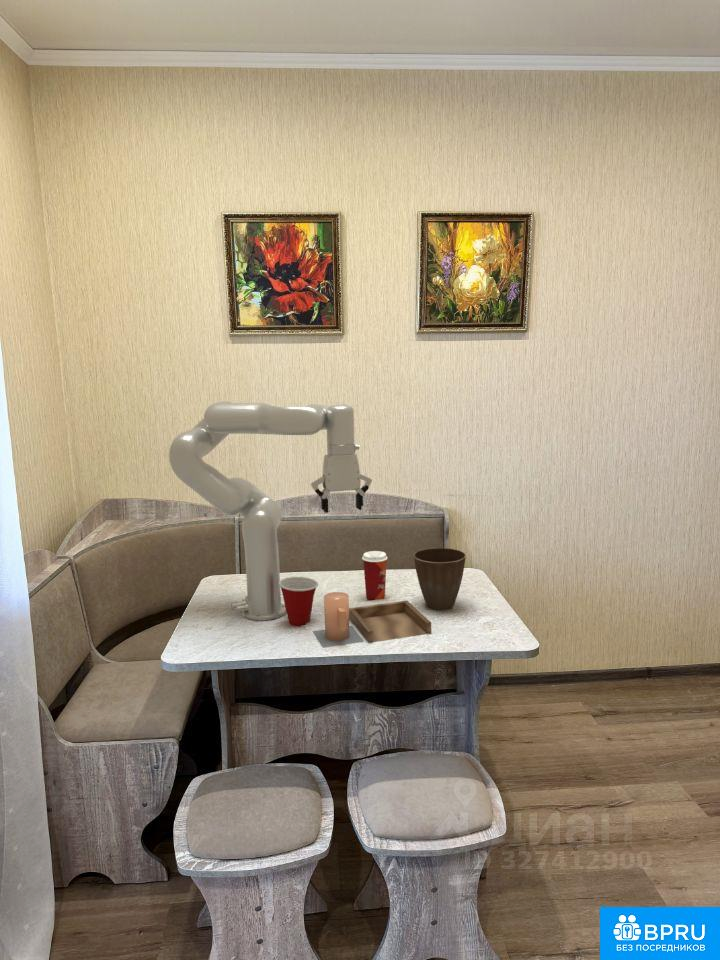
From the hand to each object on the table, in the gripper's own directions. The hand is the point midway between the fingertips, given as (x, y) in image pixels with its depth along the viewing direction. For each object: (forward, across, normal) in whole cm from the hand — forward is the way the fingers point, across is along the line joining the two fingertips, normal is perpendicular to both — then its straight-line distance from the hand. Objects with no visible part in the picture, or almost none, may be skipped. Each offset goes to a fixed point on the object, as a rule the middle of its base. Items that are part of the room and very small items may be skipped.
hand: (342, 510), depth 191 cm
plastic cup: (+31, +14, +3) cm, 34 cm away
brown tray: (+30, -8, +15) cm, 35 cm away
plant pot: (+31, -27, +6) cm, 41 cm away
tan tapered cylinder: (+30, +7, +18) cm, 36 cm away
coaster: (+30, +7, +17) cm, 35 cm away
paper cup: (+31, -12, -8) cm, 34 cm away
